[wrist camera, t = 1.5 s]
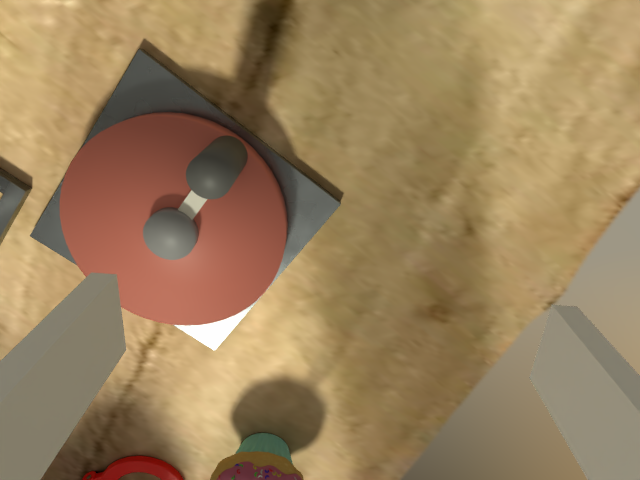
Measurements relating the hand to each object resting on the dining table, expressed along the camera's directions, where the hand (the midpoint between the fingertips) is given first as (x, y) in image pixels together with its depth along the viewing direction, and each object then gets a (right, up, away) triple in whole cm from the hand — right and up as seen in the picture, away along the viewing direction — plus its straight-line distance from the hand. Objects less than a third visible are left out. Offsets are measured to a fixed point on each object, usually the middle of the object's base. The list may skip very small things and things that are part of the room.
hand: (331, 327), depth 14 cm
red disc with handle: (-11, +4, +21) cm, 24 cm away
